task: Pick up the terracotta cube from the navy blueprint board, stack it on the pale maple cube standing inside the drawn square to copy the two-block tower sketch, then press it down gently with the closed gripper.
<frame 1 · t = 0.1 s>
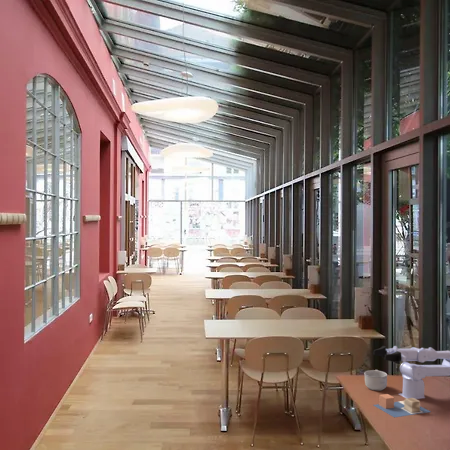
hand: (379, 354, 221), 22 cm above the table, tool horizontal, fingers open, 7 cm apart
blueprint board: (401, 409, 213), on the table
maple cube: (411, 410, 211), point 1 cm above the table, touching blueprint board
teacup: (376, 388, 240), on the table
terracotta cube: (386, 406, 215), point 1 cm above the table, touching blueprint board
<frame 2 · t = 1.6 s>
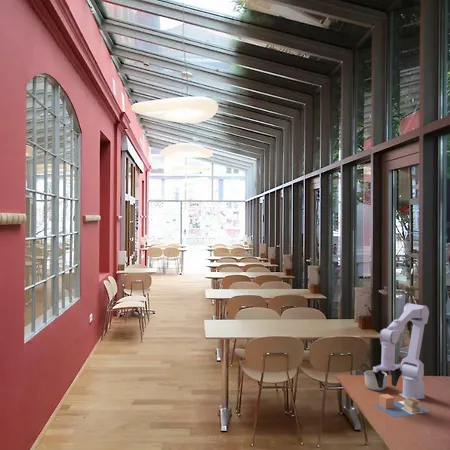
hand: (387, 386, 215), 9 cm above the table, tool pointing down, fingers open, 7 cm apart
nothing on the table moved.
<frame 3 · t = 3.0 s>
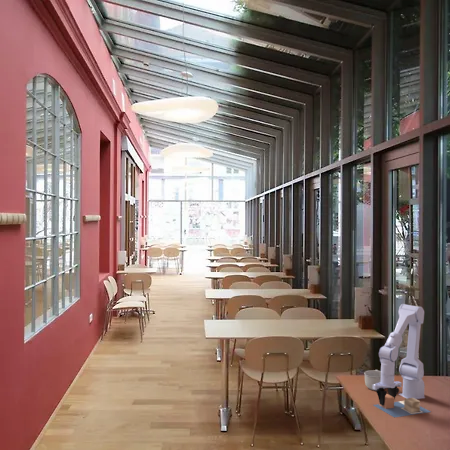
hand: (386, 404, 215), 2 cm above the table, tool pointing down, fingers closed on terracotta cube, 4 cm apart
terracotta cube: (386, 406, 215), point 1 cm above the table, touching blueprint board, gripper
everything else where it was.
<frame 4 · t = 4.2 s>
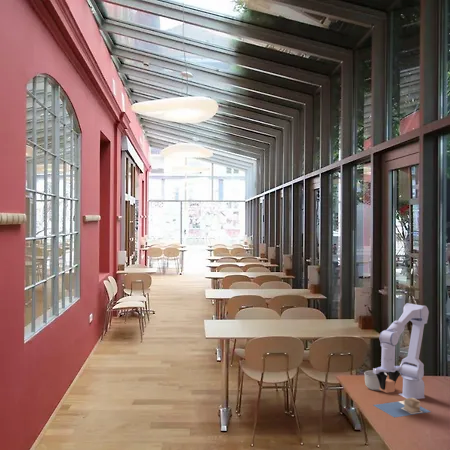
hand: (387, 388, 215), 9 cm above the table, tool pointing down, fingers closed on terracotta cube, 4 cm apart
terracotta cube: (387, 390, 215), point 8 cm above the table, touching gripper
everything else where it was.
when the fingers open (7 cm above the table, at t = 5.8 s): terracotta cube drops 1 cm, resting on maple cube.
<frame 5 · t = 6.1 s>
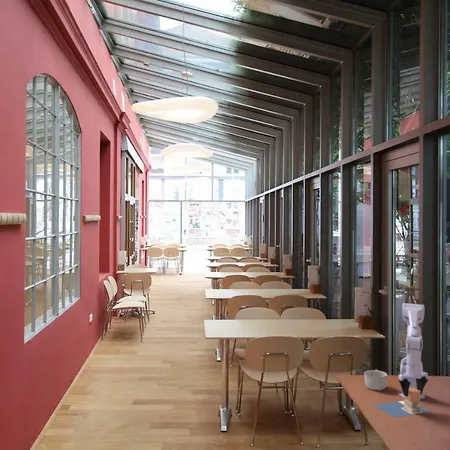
hand: (412, 395, 211), 7 cm above the table, tool pointing down, fingers open, 7 cm apart
maple cube: (411, 410, 211), point 1 cm above the table, touching blueprint board, terracotta cube
terracotta cube: (412, 400, 211), point 5 cm above the table, touching maple cube
everything else where it was.
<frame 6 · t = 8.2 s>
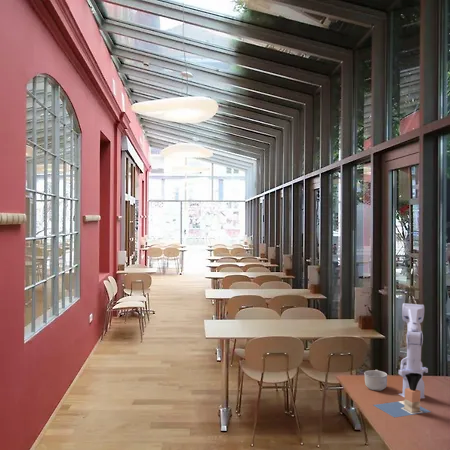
hand: (412, 389, 211), 10 cm above the table, tool pointing down, fingers closed, pressing on terracotta cube
terracotta cube: (412, 400, 211), point 5 cm above the table, touching gripper, maple cube
everything else where it was.
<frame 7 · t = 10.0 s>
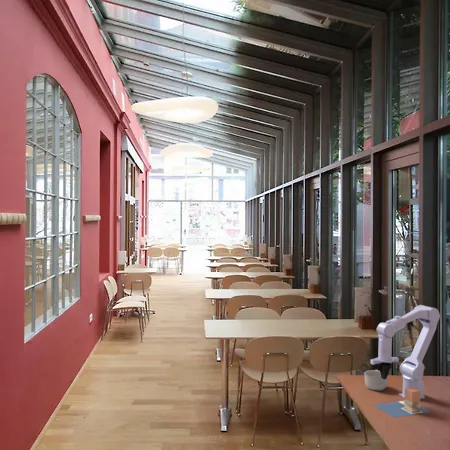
hand: (383, 378, 223), 10 cm above the table, tool pointing down, fingers closed
terracotta cube: (412, 400, 211), point 5 cm above the table, touching maple cube
everything else where it was.
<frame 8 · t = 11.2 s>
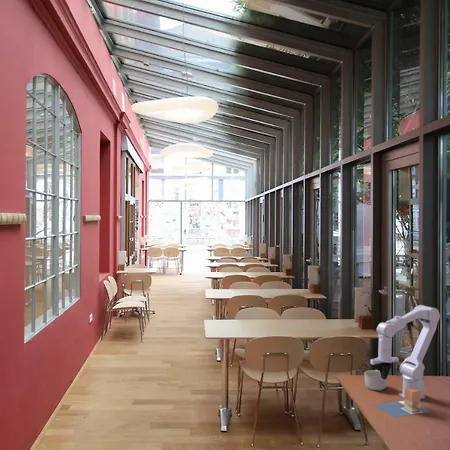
hand: (383, 378, 223), 10 cm above the table, tool pointing down, fingers closed
nothing on the table moved.
at the end: terracotta cube 0.0 cm off-centre on the maple cube, point 4.5 cm above the maple cube's base; terracotta cube tilted 0°; maple cube moved 0.0 cm from its start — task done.
